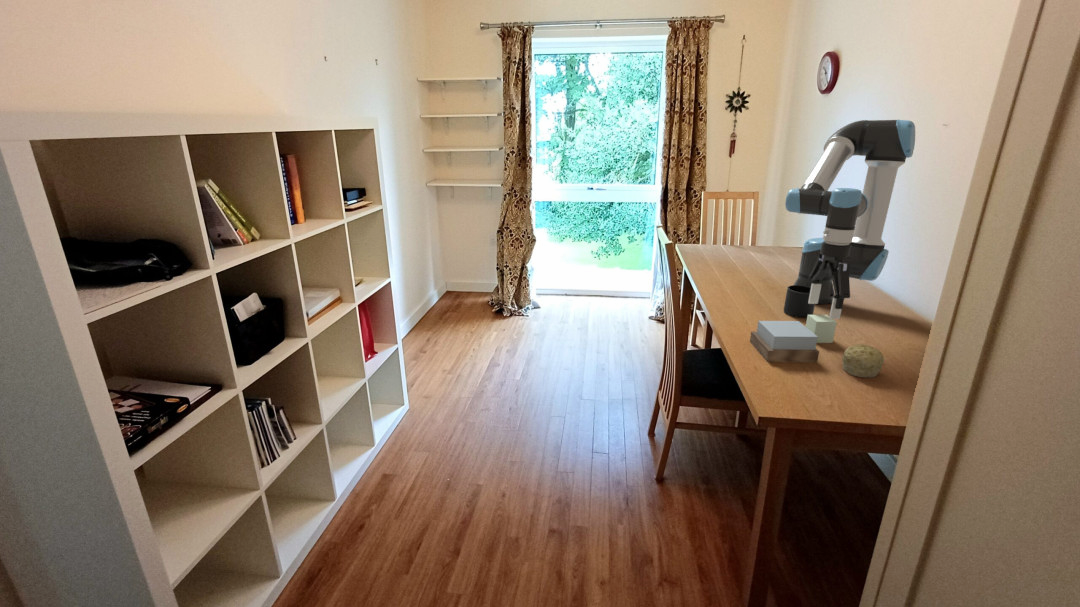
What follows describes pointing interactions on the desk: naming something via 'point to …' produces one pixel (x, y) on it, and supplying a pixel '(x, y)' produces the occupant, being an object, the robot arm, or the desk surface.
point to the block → (821, 327)
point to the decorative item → (862, 360)
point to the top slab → (787, 335)
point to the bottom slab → (782, 352)
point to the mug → (798, 301)
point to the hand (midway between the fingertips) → (823, 310)
